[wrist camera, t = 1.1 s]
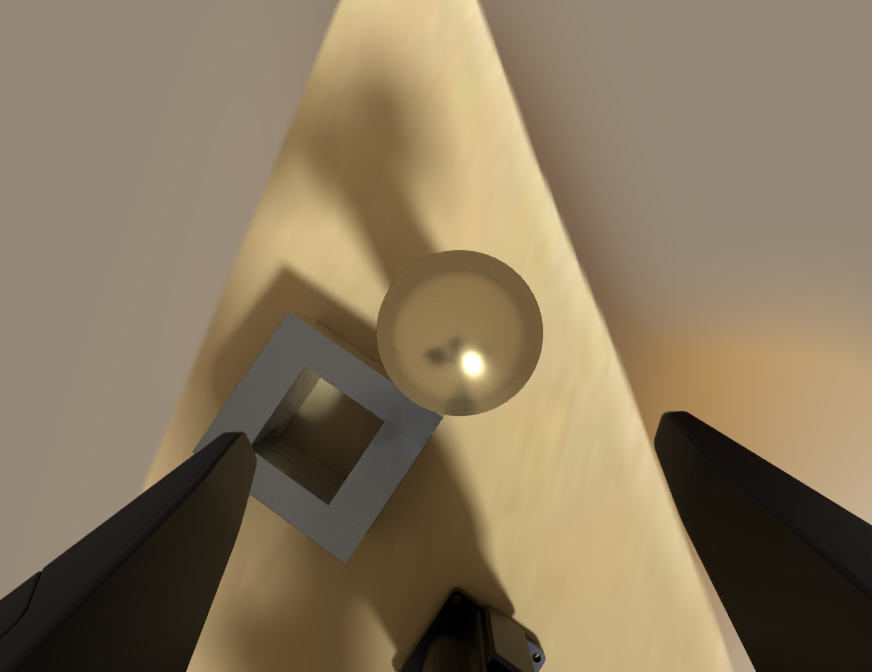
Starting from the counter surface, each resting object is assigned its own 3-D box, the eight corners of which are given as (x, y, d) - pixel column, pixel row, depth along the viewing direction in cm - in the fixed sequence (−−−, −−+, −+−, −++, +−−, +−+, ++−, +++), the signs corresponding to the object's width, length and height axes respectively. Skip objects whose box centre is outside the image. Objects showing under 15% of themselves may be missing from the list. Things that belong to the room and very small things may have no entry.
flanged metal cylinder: (467, 404, 25) (482, 449, 12) (400, 359, 25) (344, 354, 12) (511, 337, 25) (575, 308, 12) (444, 293, 25) (436, 219, 12)
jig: (362, 531, 24) (345, 564, 20) (233, 437, 25) (192, 451, 21) (444, 408, 25) (443, 417, 21) (314, 319, 25) (289, 311, 21)
